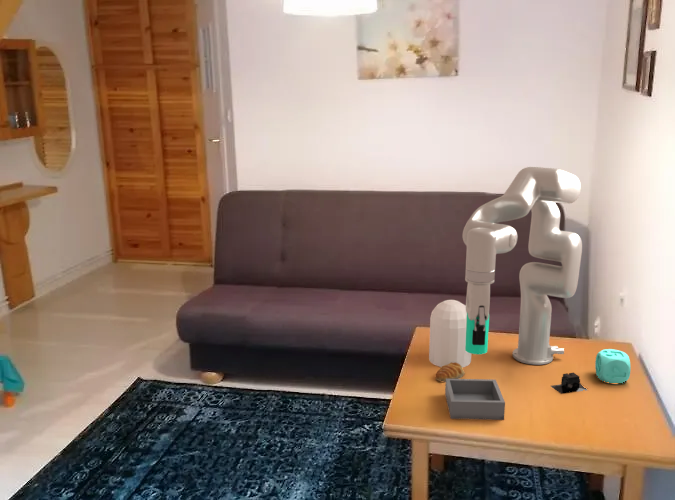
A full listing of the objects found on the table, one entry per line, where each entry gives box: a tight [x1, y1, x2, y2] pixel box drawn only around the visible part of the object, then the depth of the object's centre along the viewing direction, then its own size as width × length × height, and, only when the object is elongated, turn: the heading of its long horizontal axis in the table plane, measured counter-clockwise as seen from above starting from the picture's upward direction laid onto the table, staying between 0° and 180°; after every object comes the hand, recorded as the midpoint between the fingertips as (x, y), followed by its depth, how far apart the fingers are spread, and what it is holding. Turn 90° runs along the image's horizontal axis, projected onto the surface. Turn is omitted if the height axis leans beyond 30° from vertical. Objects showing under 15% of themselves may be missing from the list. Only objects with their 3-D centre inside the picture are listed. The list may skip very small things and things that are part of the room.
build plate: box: [550, 372, 588, 395], centre depth 194 cm, size 12×7×5 cm, turn 105°
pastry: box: [435, 362, 466, 383], centre depth 201 cm, size 9×7×4 cm
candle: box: [465, 313, 490, 355], centre depth 177 cm, size 6×6×12 cm
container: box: [428, 299, 472, 368], centre depth 212 cm, size 14×13×20 cm
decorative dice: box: [594, 348, 632, 384], centre depth 199 cm, size 8×8×8 cm
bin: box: [444, 378, 506, 421], centre depth 182 cm, size 14×14×5 cm
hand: (476, 339), depth 178 cm, fingers closed on candle, 4 cm apart
